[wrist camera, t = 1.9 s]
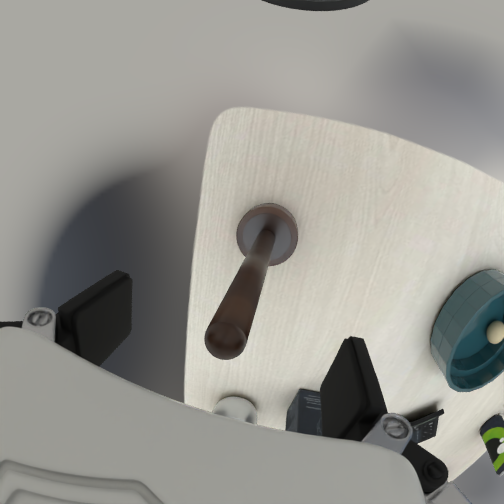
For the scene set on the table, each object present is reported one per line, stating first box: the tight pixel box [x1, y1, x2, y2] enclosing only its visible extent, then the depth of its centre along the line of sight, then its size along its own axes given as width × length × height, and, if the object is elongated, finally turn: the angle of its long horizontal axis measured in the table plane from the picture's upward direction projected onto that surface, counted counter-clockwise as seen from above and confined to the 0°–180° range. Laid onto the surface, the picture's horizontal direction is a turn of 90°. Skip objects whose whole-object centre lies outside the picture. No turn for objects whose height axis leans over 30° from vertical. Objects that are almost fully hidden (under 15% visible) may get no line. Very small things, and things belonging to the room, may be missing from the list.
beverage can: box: [480, 415, 504, 477], centre depth 25 cm, size 6×6×15 cm
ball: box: [487, 321, 504, 344], centre depth 24 cm, size 3×3×3 cm
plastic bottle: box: [212, 397, 257, 424], centre depth 26 cm, size 6×7×20 cm
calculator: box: [410, 409, 444, 444], centre depth 32 cm, size 9×12×3 cm
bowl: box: [431, 269, 504, 392], centre depth 24 cm, size 15×15×6 cm
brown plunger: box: [205, 203, 298, 360], centre depth 18 cm, size 6×6×19 cm
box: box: [285, 389, 322, 436], centre depth 28 cm, size 8×6×11 cm
